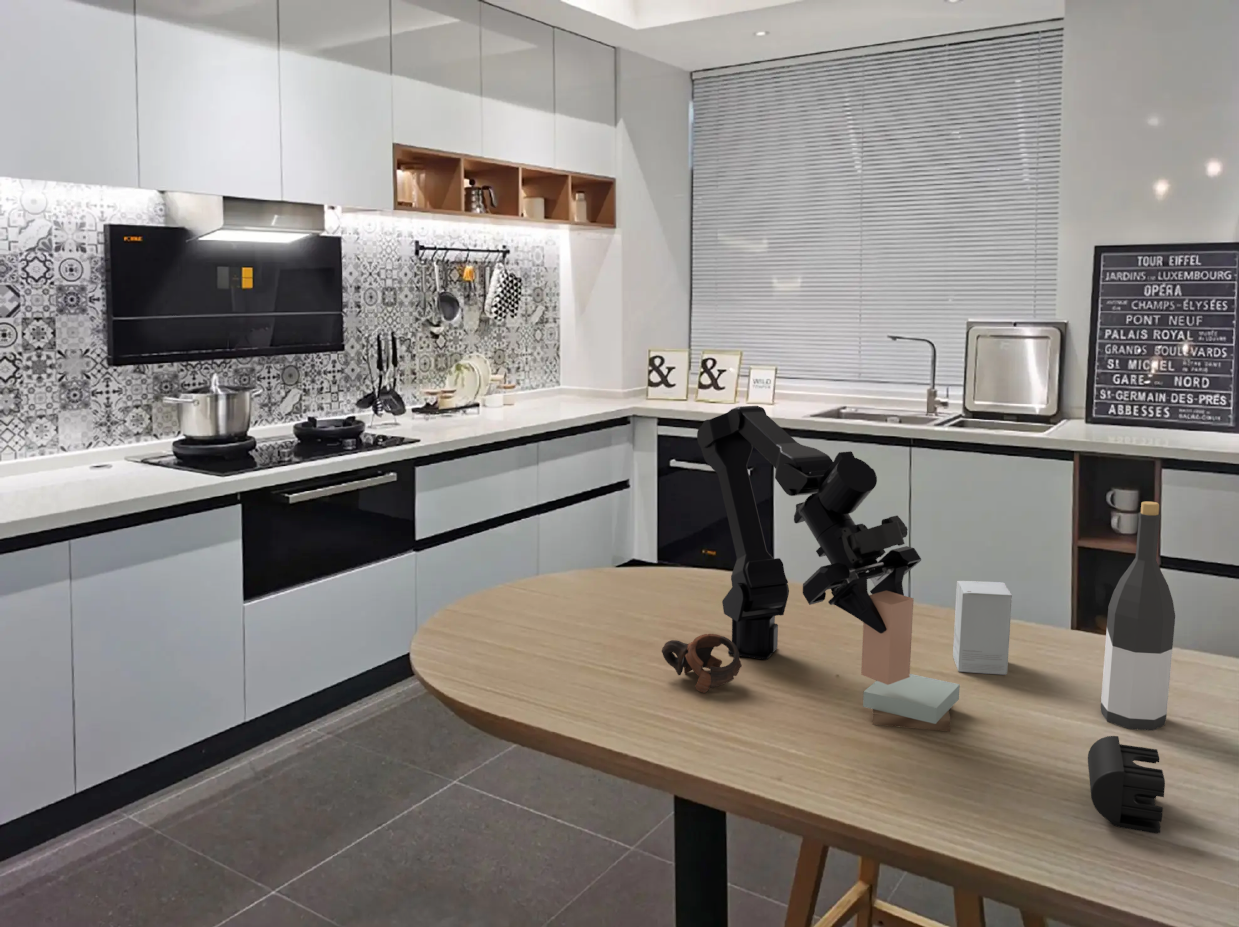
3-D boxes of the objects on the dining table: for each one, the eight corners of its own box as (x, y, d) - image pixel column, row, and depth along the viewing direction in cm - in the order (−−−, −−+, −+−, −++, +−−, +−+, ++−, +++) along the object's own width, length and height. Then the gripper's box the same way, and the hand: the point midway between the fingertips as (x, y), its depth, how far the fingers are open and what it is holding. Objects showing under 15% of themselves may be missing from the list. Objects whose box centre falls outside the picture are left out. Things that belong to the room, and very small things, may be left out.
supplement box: (1008, 675, 159) (1013, 595, 157) (957, 672, 161) (961, 592, 159) (1000, 659, 166) (1005, 581, 164) (952, 655, 168) (956, 579, 166)
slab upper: (863, 706, 144) (863, 691, 144) (889, 684, 152) (889, 669, 152) (935, 724, 139) (936, 708, 138) (958, 699, 147) (959, 684, 146)
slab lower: (872, 729, 142) (872, 713, 142) (872, 700, 152) (873, 686, 151) (949, 736, 140) (950, 720, 140) (945, 707, 150) (945, 692, 149)
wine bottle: (1162, 736, 138) (1182, 511, 133) (1095, 722, 142) (1112, 505, 137) (1168, 714, 145) (1187, 500, 140) (1104, 702, 149) (1120, 494, 144)
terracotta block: (861, 674, 143) (864, 596, 141) (882, 667, 145) (886, 590, 144) (887, 684, 139) (891, 604, 137) (909, 677, 142) (913, 598, 140)
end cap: (1085, 785, 125) (1089, 731, 124) (1152, 795, 122) (1156, 740, 121) (1088, 825, 116) (1093, 767, 115) (1160, 837, 113) (1166, 778, 112)
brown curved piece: (737, 672, 163) (749, 637, 157) (726, 719, 155) (738, 684, 150) (662, 649, 164) (672, 613, 159) (648, 695, 157) (657, 659, 151)
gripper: (821, 507, 136) (886, 611, 129) (913, 489, 147) (977, 584, 140) (775, 553, 143) (835, 654, 137) (866, 533, 154) (925, 625, 148)
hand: (895, 628), depth 140 cm, fingers closed on terracotta block, 4 cm apart
